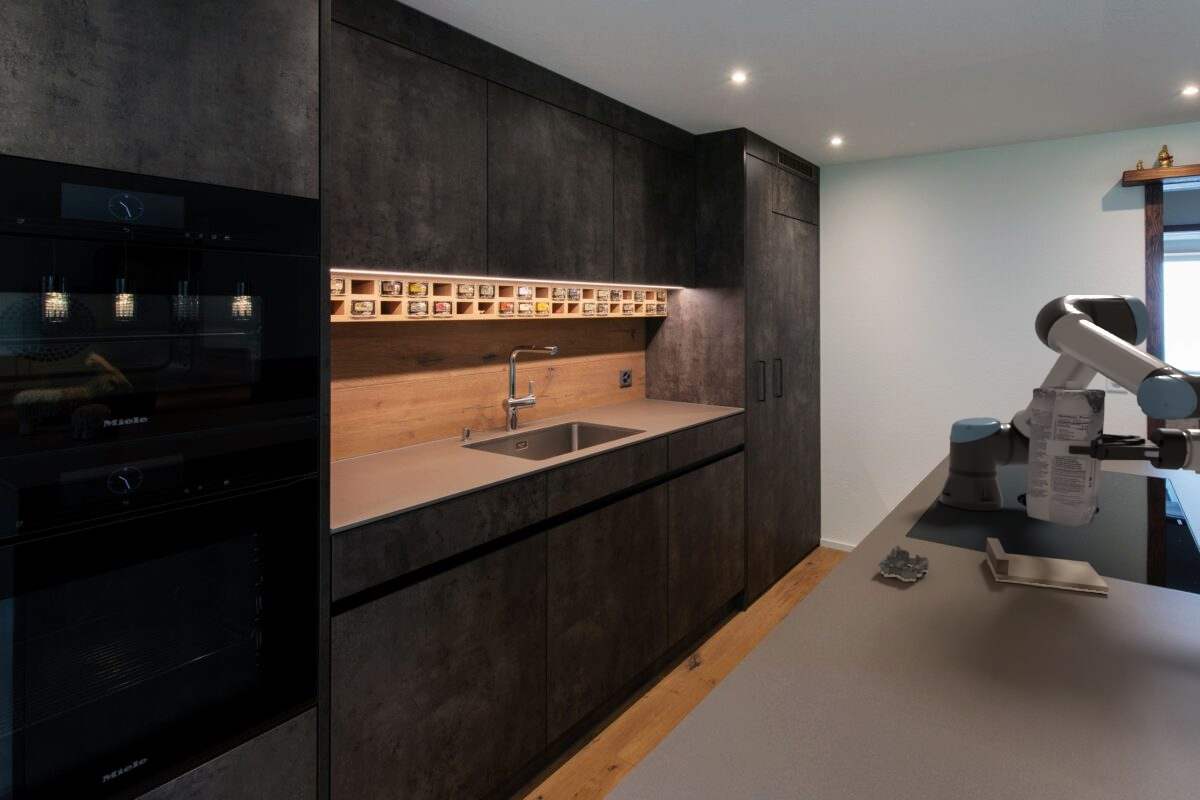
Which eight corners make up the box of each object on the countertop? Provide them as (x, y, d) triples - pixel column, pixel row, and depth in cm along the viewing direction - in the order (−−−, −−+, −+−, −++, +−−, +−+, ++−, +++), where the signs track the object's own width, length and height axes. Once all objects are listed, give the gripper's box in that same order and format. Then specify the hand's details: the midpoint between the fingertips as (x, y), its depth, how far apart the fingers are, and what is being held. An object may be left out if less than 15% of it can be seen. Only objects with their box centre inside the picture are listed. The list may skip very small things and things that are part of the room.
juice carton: (1075, 530, 127) (1086, 384, 124) (1018, 516, 136) (1027, 380, 134) (1102, 523, 131) (1112, 382, 128) (1045, 510, 141) (1053, 378, 138)
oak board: (995, 581, 133) (996, 573, 132) (985, 558, 145) (986, 551, 145) (1107, 594, 126) (1108, 587, 126) (1087, 569, 139) (1087, 562, 138)
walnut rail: (996, 573, 132) (997, 558, 132) (986, 551, 145) (986, 537, 145) (1007, 575, 132) (1008, 560, 131) (996, 552, 144) (997, 538, 144)
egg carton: (897, 563, 144) (898, 544, 143) (934, 572, 138) (935, 552, 138) (873, 575, 136) (874, 555, 136) (912, 586, 131) (913, 565, 131)
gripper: (1206, 483, 115) (1053, 473, 123) (1155, 458, 137) (1027, 451, 145) (1211, 439, 114) (1055, 432, 123) (1158, 420, 136) (1029, 415, 144)
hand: (1040, 442), depth 134 cm, fingers closed on juice carton, 11 cm apart
